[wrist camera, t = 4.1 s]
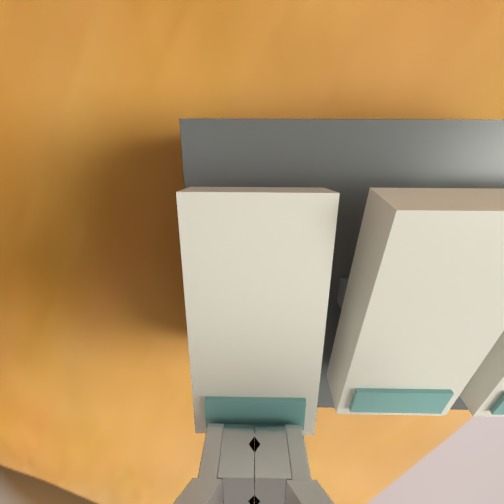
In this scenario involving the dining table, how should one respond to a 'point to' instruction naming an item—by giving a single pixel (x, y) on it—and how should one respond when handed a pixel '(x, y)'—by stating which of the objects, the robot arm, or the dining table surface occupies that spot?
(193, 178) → the switch unit
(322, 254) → the block
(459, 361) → the rocker
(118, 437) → the dining table surface
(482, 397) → the rocker
